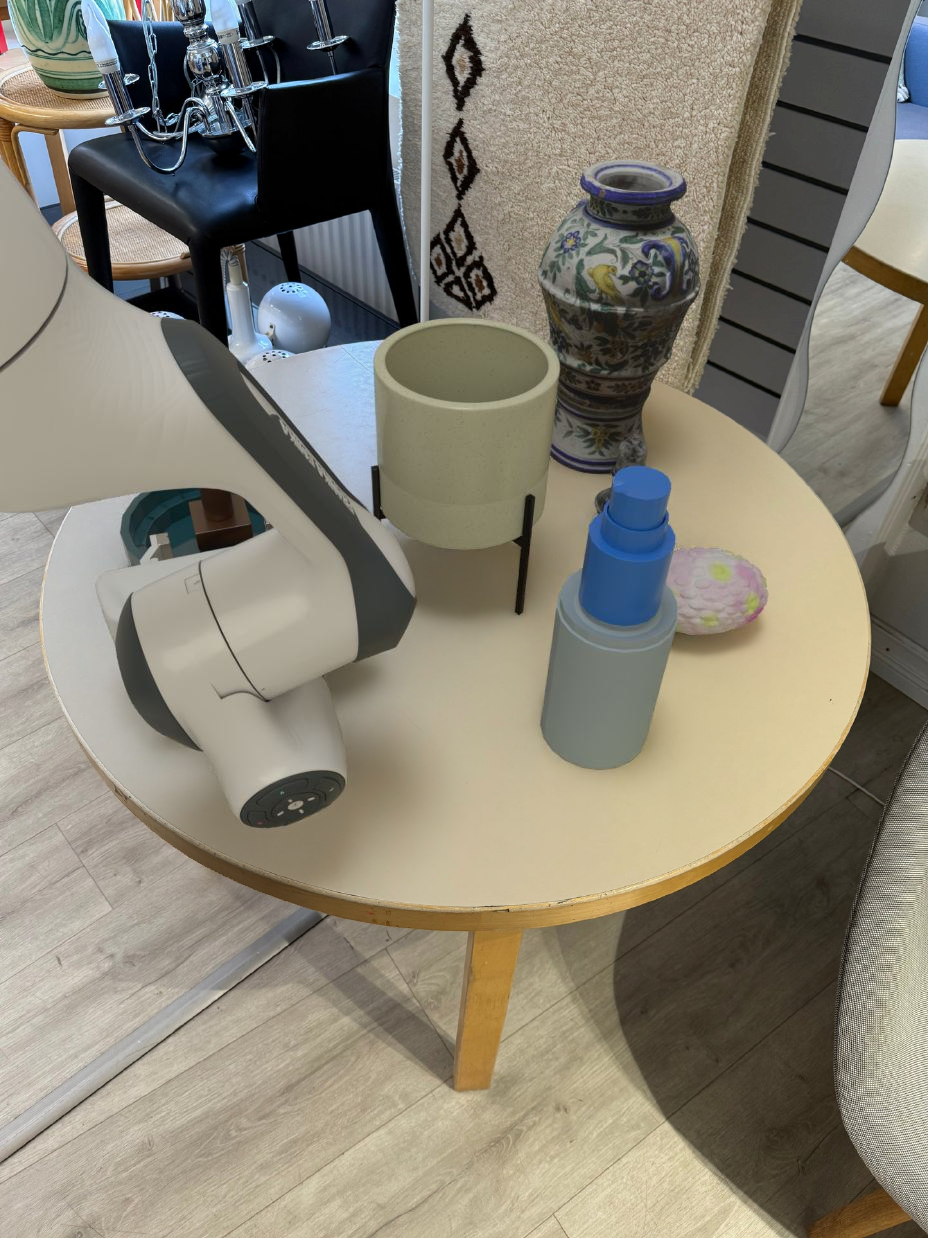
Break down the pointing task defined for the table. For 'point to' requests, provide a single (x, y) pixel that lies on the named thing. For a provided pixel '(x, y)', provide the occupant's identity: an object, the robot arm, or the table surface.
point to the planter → (464, 434)
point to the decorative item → (715, 590)
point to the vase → (614, 304)
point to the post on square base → (219, 519)
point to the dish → (167, 522)
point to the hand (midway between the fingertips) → (216, 528)
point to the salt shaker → (624, 465)
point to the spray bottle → (613, 628)
